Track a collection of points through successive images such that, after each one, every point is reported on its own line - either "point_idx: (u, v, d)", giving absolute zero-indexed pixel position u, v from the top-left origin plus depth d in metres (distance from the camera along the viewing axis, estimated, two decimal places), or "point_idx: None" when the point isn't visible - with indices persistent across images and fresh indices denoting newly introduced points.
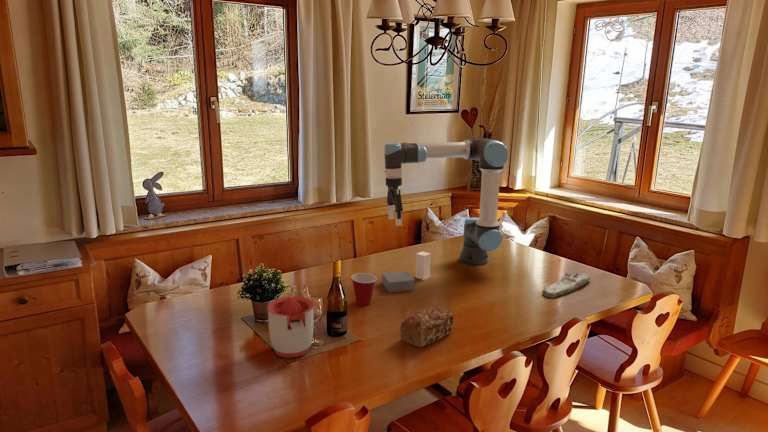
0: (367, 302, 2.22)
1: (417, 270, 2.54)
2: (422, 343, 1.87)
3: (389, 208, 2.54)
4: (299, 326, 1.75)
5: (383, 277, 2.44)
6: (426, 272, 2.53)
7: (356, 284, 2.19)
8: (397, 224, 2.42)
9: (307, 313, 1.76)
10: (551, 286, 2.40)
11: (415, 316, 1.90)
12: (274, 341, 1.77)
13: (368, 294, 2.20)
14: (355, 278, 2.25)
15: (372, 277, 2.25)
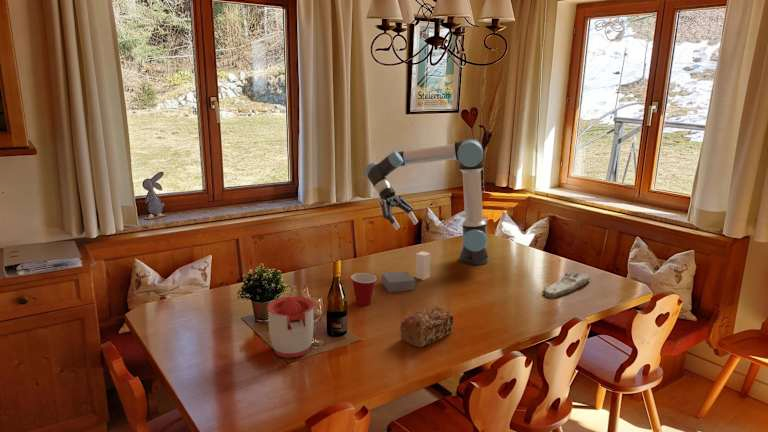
0: (367, 302, 2.22)
1: (417, 270, 2.54)
2: (422, 343, 1.87)
3: (409, 215, 2.63)
4: (299, 326, 1.75)
5: (383, 277, 2.44)
6: (426, 272, 2.53)
7: (356, 284, 2.19)
8: (396, 228, 2.52)
9: (307, 313, 1.76)
10: (551, 286, 2.39)
11: (415, 316, 1.90)
12: (274, 341, 1.77)
13: (368, 294, 2.20)
14: (355, 278, 2.25)
15: (372, 277, 2.25)
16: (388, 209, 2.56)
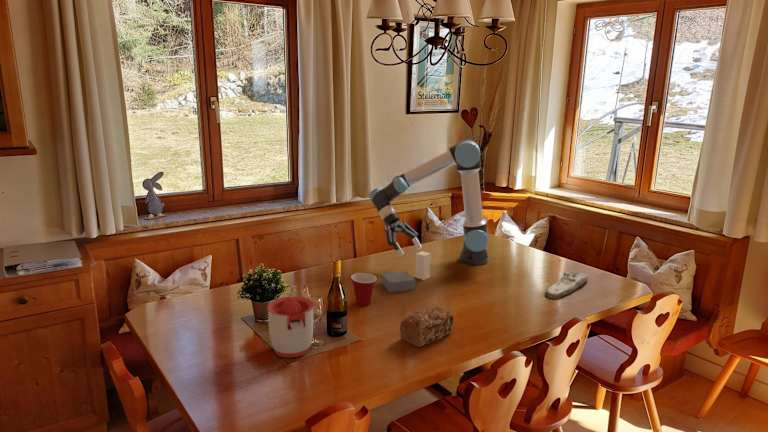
0: (367, 302, 2.22)
1: (417, 270, 2.54)
2: (422, 343, 1.88)
3: (413, 241, 2.64)
4: (299, 326, 1.75)
5: (383, 277, 2.44)
6: (426, 272, 2.53)
7: (356, 284, 2.19)
8: (400, 255, 2.53)
9: (307, 313, 1.76)
10: (553, 287, 2.39)
11: (415, 316, 1.91)
12: (274, 341, 1.77)
13: (368, 294, 2.20)
14: (355, 278, 2.25)
15: (372, 277, 2.25)
16: (392, 235, 2.56)
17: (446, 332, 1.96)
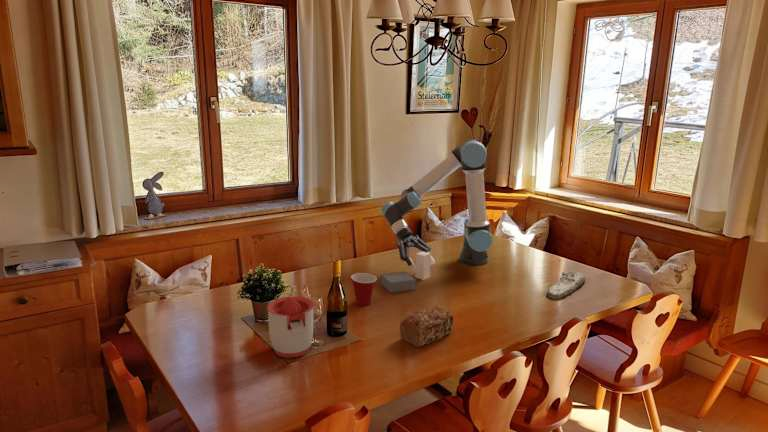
0: (367, 302, 2.22)
1: (417, 270, 2.54)
2: (421, 343, 1.88)
3: None
4: (299, 326, 1.75)
5: (383, 277, 2.44)
6: (426, 272, 2.53)
7: (356, 284, 2.19)
8: (413, 270, 2.49)
9: (307, 313, 1.76)
10: (554, 287, 2.38)
11: (414, 315, 1.91)
12: (274, 341, 1.77)
13: (368, 294, 2.20)
14: (355, 278, 2.25)
15: (372, 277, 2.25)
16: (405, 250, 2.53)
17: (446, 332, 1.97)
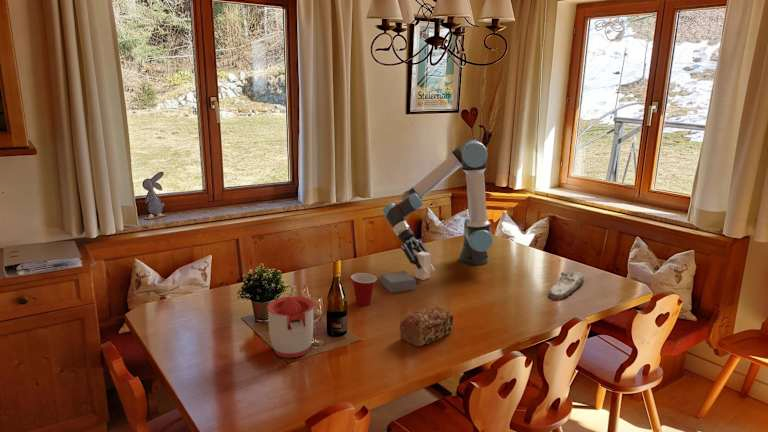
0: (367, 302, 2.22)
1: (417, 270, 2.54)
2: (421, 343, 1.88)
3: None
4: (299, 326, 1.75)
5: (383, 277, 2.44)
6: None
7: (356, 284, 2.19)
8: (423, 274, 2.51)
9: (307, 313, 1.76)
10: (555, 287, 2.38)
11: (414, 315, 1.91)
12: (274, 341, 1.77)
13: (368, 294, 2.20)
14: (355, 278, 2.25)
15: (372, 277, 2.25)
16: (412, 253, 2.53)
17: (446, 332, 1.97)
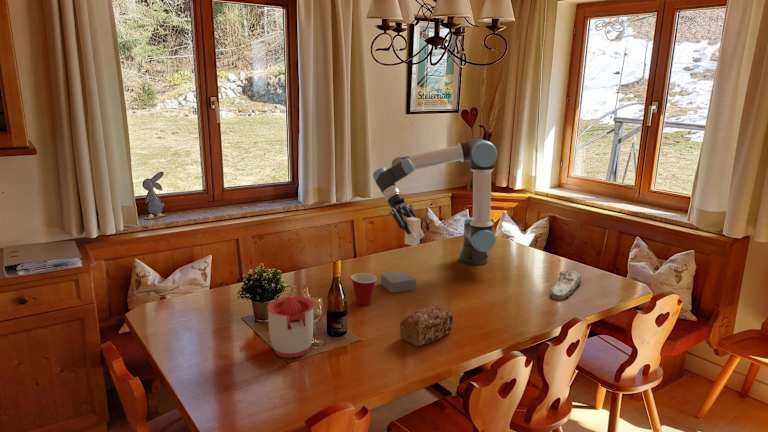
0: (367, 302, 2.22)
1: (406, 236, 2.46)
2: (421, 342, 1.88)
3: None
4: (299, 326, 1.75)
5: (383, 278, 2.44)
6: (416, 238, 2.45)
7: (356, 284, 2.19)
8: (412, 239, 2.43)
9: (307, 313, 1.76)
10: (555, 288, 2.38)
11: (414, 315, 1.91)
12: (274, 341, 1.77)
13: (368, 294, 2.20)
14: (355, 278, 2.25)
15: (372, 277, 2.25)
16: (401, 218, 2.45)
17: (446, 332, 1.97)
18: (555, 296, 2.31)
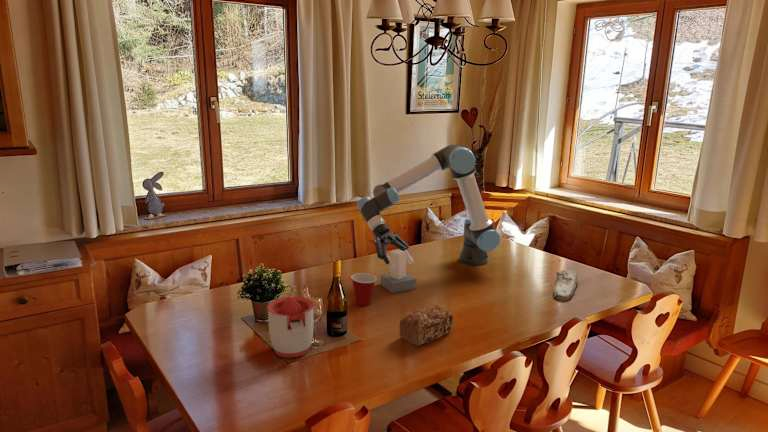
0: (367, 302, 2.22)
1: None
2: (420, 342, 1.88)
3: None
4: (299, 326, 1.75)
5: (383, 278, 2.43)
6: (402, 271, 2.40)
7: (356, 284, 2.19)
8: (391, 269, 2.36)
9: (307, 313, 1.76)
10: (558, 288, 2.37)
11: (414, 314, 1.92)
12: (274, 341, 1.77)
13: (368, 294, 2.20)
14: (355, 278, 2.25)
15: (372, 277, 2.25)
16: (382, 248, 2.39)
17: (445, 331, 1.97)
18: (560, 297, 2.30)
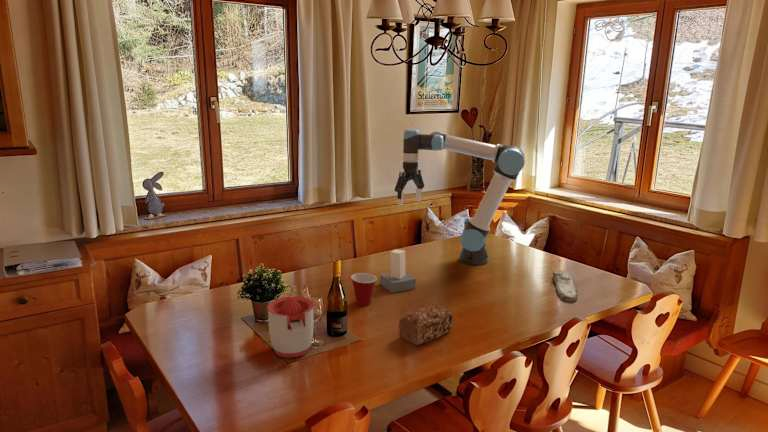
0: (367, 302, 2.22)
1: (392, 269, 2.41)
2: (420, 341, 1.89)
3: (416, 190, 2.72)
4: (299, 326, 1.75)
5: (382, 278, 2.44)
6: (402, 270, 2.41)
7: (356, 284, 2.19)
8: (398, 204, 2.64)
9: (307, 313, 1.76)
10: (562, 289, 2.36)
11: (413, 314, 1.92)
12: (274, 341, 1.77)
13: (368, 294, 2.20)
14: (355, 278, 2.25)
15: (372, 277, 2.25)
16: (402, 183, 2.62)
17: (445, 331, 1.98)
18: (568, 298, 2.29)
